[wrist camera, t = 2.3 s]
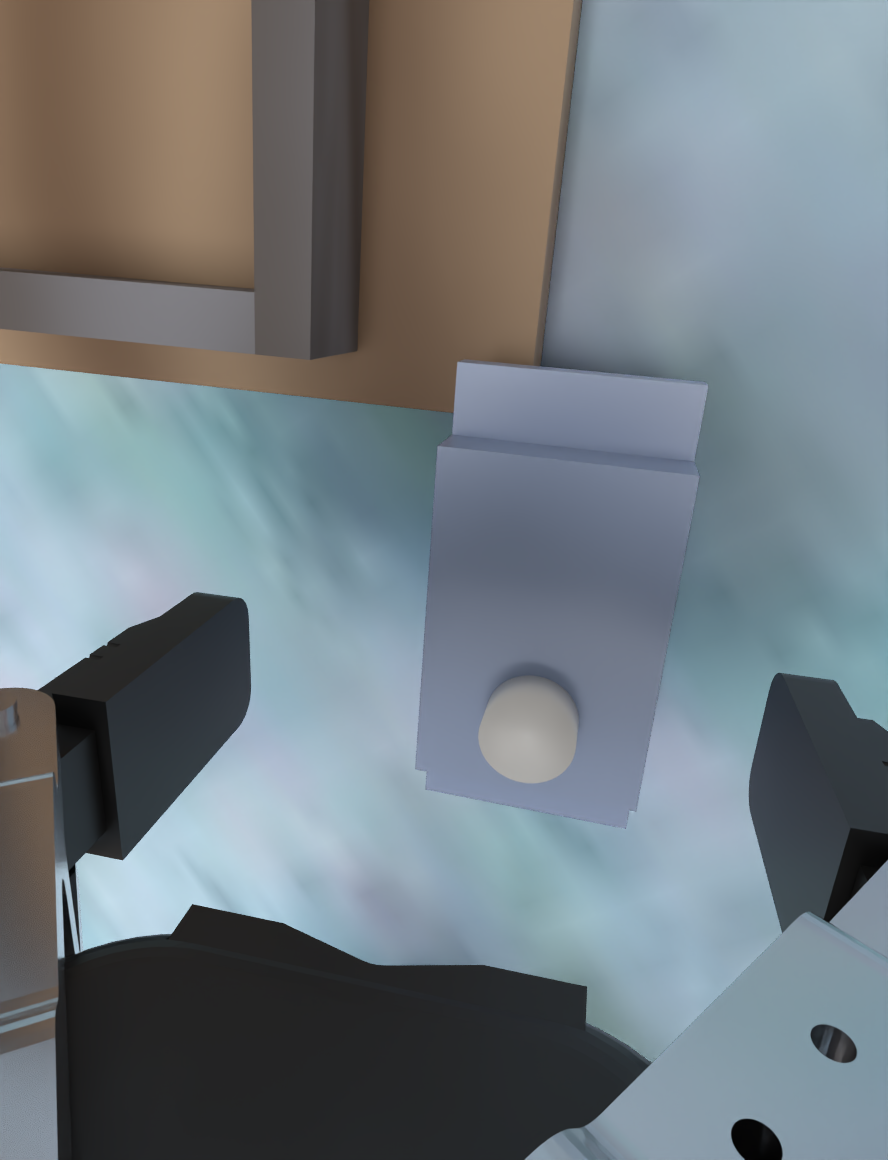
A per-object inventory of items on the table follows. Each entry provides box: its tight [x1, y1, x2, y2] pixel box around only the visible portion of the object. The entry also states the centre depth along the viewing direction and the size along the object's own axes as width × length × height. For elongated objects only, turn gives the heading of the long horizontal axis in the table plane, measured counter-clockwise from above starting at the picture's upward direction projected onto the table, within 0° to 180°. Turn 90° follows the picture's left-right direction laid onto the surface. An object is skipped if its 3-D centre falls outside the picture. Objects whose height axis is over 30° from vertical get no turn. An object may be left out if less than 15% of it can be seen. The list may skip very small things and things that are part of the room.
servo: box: [415, 359, 708, 829], centre depth 15 cm, size 4×8×6 cm, turn 176°
